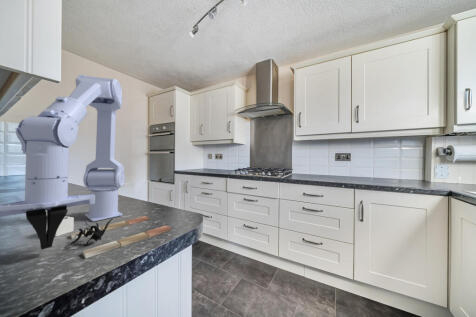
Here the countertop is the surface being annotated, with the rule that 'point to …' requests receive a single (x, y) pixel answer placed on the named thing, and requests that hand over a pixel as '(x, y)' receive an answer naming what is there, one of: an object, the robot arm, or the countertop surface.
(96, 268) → the countertop surface
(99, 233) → the creature
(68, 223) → the white rectangular block
